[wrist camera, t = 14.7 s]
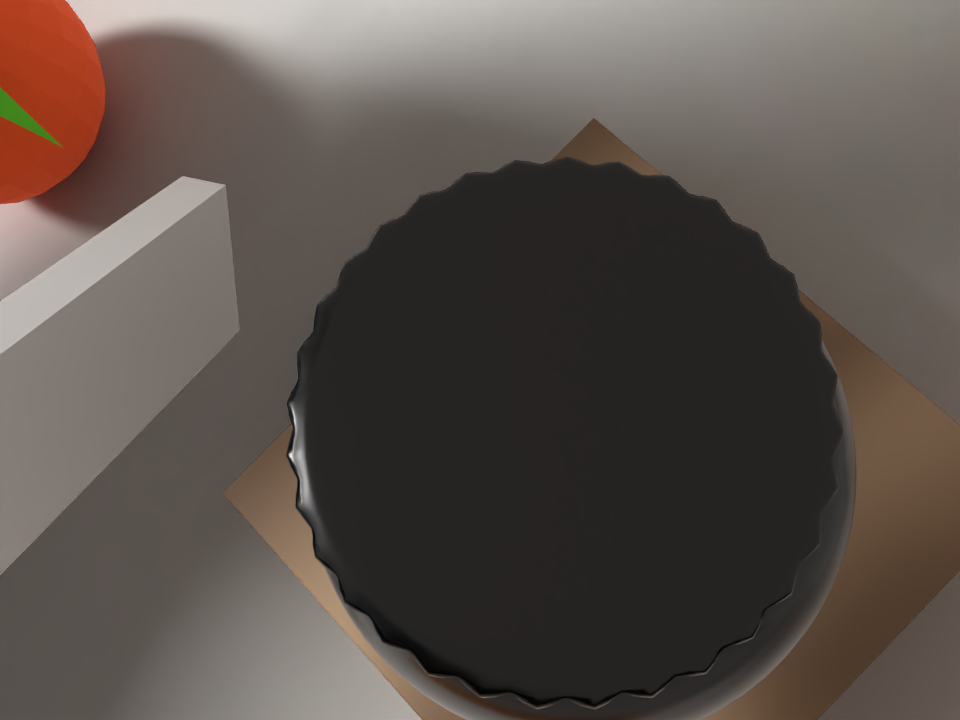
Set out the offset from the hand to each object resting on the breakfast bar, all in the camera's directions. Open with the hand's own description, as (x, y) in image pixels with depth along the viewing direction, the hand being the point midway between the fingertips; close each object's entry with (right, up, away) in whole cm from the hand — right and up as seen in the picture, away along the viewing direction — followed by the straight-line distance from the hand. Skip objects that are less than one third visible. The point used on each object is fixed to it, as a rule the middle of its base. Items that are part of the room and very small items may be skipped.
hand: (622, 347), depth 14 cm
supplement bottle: (0, -3, +6) cm, 7 cm away
